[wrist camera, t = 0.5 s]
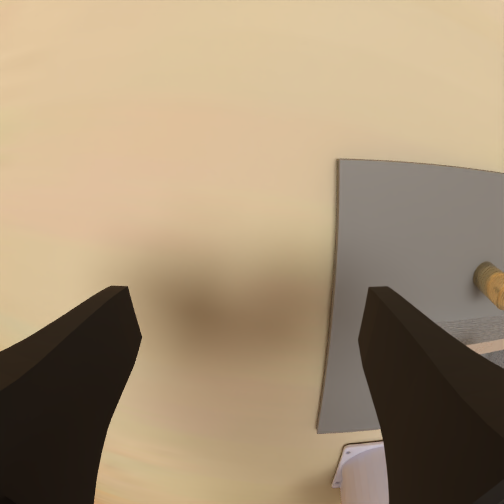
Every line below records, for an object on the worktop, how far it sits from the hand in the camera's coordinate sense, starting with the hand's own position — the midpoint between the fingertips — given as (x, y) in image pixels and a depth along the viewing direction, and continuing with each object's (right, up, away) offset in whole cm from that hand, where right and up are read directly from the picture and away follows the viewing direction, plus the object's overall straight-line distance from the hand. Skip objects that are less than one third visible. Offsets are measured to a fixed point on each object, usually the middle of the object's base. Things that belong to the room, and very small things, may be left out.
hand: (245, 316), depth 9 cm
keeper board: (+16, -3, +10) cm, 19 cm away
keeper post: (+16, +1, +9) cm, 18 cm away
